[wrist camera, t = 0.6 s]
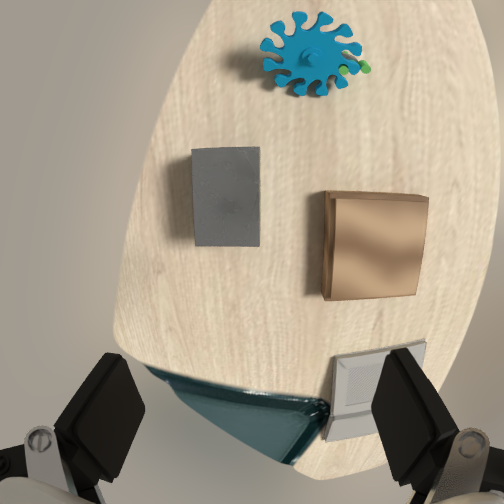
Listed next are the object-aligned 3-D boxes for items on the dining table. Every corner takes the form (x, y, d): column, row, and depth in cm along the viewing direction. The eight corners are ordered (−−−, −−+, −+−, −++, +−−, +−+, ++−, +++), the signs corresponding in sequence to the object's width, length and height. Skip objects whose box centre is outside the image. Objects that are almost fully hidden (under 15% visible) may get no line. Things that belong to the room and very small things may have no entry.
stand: (325, 190, 29) (331, 193, 26) (418, 194, 28) (431, 198, 25) (321, 291, 32) (325, 303, 30) (407, 287, 32) (417, 297, 29)
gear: (251, 88, 24) (272, 1, 15) (253, 66, 27) (271, -7, 18) (351, 112, 26) (389, 39, 17) (341, 87, 28) (370, 23, 19)
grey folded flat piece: (393, 423, 42) (398, 436, 38) (322, 437, 43) (325, 451, 40) (423, 335, 35) (433, 349, 31) (333, 352, 36) (338, 369, 33)
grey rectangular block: (204, 151, 28) (191, 149, 23) (260, 150, 28) (259, 146, 23) (207, 231, 31) (195, 246, 26) (260, 232, 31) (259, 246, 25)
